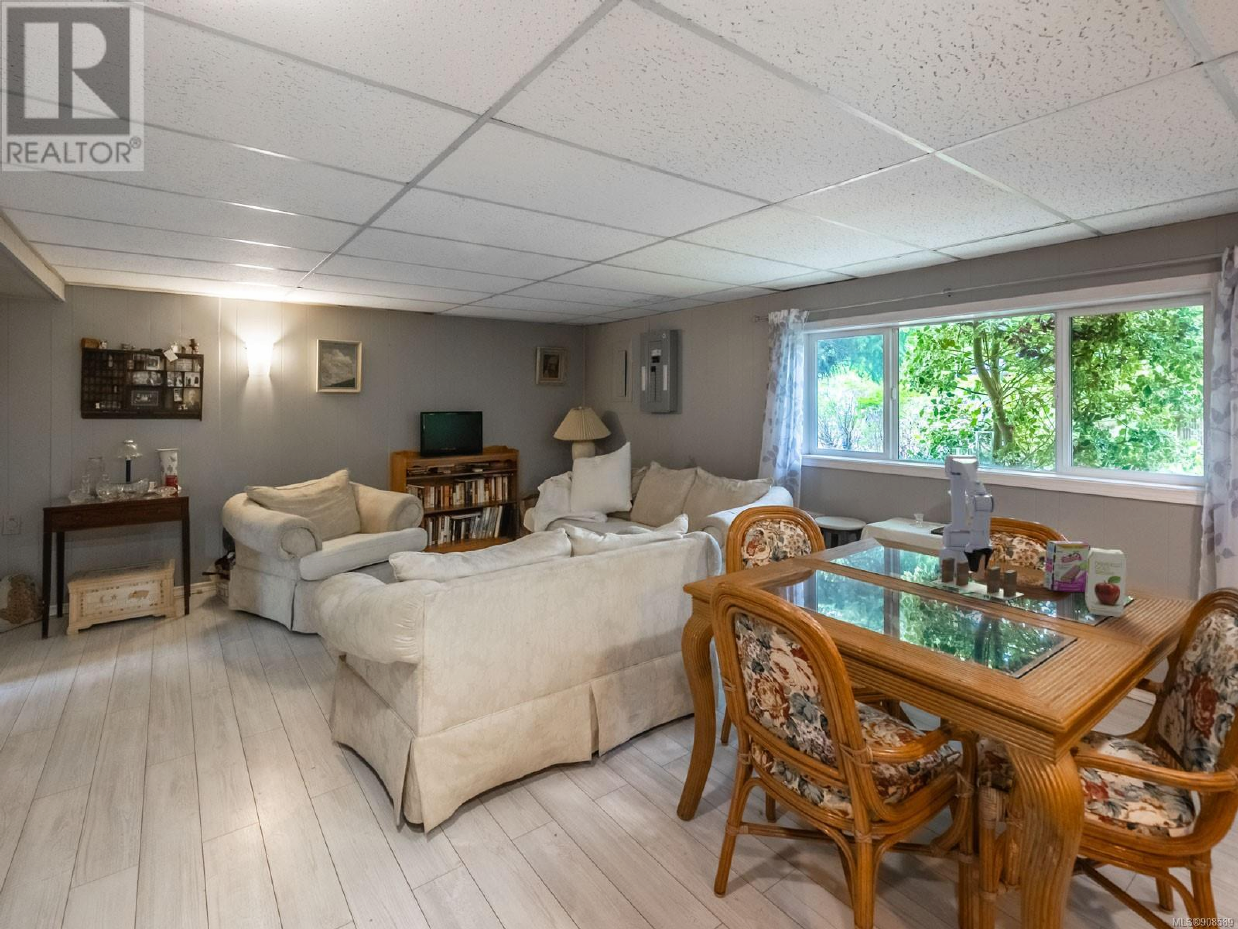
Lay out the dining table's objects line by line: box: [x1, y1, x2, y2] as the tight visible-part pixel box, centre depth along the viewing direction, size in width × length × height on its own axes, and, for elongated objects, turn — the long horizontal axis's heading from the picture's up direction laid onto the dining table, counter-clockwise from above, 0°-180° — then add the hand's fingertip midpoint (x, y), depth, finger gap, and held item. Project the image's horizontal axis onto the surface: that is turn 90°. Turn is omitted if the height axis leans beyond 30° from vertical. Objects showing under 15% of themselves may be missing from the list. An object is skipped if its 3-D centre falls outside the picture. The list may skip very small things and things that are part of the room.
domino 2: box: [955, 560, 970, 586], centre depth 207 cm, size 2×5×8 cm, turn 123°
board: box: [931, 577, 1025, 601], centre depth 203 cm, size 25×11×1 cm, turn 33°
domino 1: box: [941, 558, 955, 583], centre depth 211 cm, size 2×5×8 cm, turn 123°
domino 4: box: [986, 566, 1001, 594], centre depth 198 cm, size 2×5×8 cm, turn 123°
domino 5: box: [1002, 569, 1018, 598], centre depth 194 cm, size 2×5×8 cm, turn 123°
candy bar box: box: [1043, 540, 1091, 593], centre depth 201 cm, size 11×5×16 cm, turn 84°
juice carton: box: [1084, 547, 1127, 618], centre depth 178 cm, size 8×9×19 cm
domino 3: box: [971, 555, 986, 581], centre depth 202 cm, size 2×5×8 cm, turn 123°
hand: (978, 570), depth 202 cm, fingers closed on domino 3, 5 cm apart
